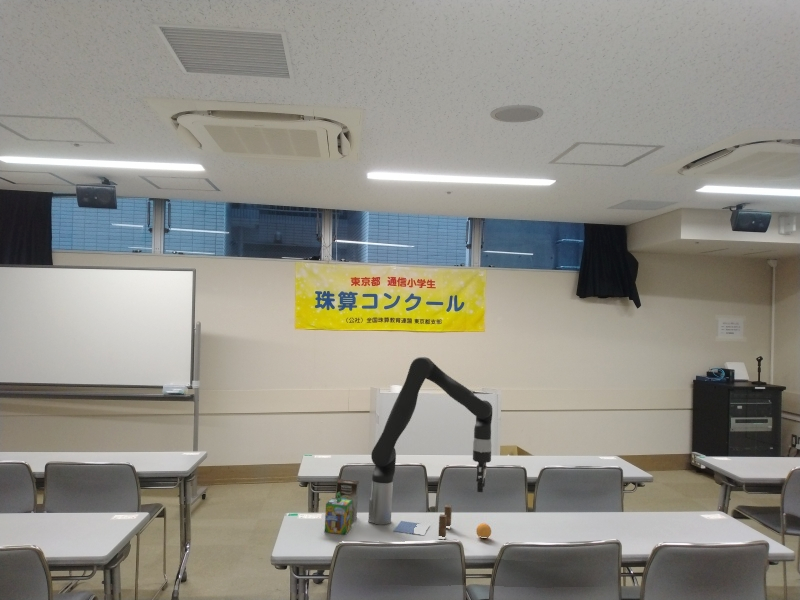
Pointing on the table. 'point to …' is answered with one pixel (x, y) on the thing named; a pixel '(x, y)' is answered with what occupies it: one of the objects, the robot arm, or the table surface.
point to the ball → (483, 530)
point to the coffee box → (349, 493)
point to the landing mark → (405, 527)
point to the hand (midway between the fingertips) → (481, 489)
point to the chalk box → (338, 515)
